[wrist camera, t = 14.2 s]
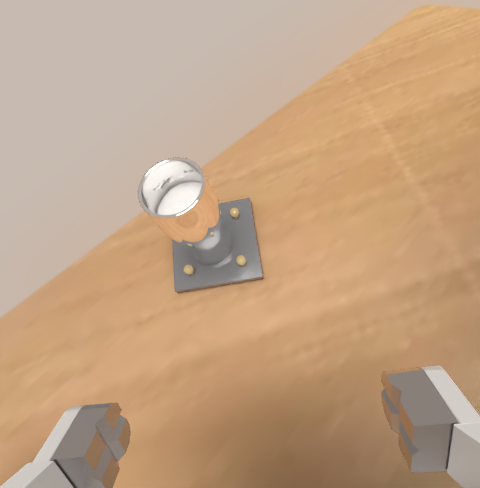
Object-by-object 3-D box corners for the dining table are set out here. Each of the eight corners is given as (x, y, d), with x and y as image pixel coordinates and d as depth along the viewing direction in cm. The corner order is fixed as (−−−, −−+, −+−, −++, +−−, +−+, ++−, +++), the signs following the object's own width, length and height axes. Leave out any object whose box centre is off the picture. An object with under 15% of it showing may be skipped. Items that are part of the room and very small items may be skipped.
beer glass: (178, 255, 41) (121, 203, 27) (202, 214, 42) (160, 146, 29) (220, 275, 39) (181, 231, 25) (244, 232, 40) (220, 168, 26)
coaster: (250, 201, 43) (248, 193, 41) (263, 278, 39) (261, 274, 37) (174, 216, 44) (168, 209, 42) (177, 293, 40) (171, 289, 38)
